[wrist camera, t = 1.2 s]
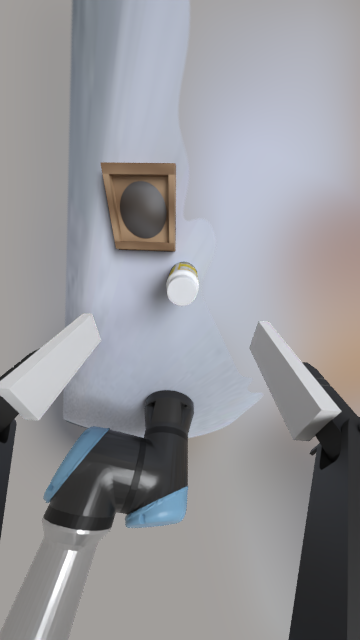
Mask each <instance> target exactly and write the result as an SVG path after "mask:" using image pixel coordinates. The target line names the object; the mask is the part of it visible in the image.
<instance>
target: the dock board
mask: <svg viewBox="0 0 360 640" xmlns="http://www.w3.org/2000/svg"><path fill="white" fill-rule="evenodd" d="M101 168H102V173H103V179H104V185H105V190H106V196H107V201H108V207H109V212H110V218H111V224H112V229H113V235H114V240H115V246H116V249H119V250H148V251H175V235H176V165H175V163H101Z"/></svg>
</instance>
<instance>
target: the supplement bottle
mask: <svg viewBox="0 0 360 640" xmlns="http://www.w3.org/2000/svg"><path fill="white" fill-rule="evenodd" d="M166 289H167V295H168V298H169V300H170V301H171V302H172V303H173V304H175V305H178V306H187V305H189V304H191V303H192V302H193V301H194V300H195V298H196V296H197V292H198V289H199V281H198V276H197V271H196V269H195V267H194V266H193V265H192V264H190V263H188V262H179V263H177V264H176V265H174V266H173V268H172V269H171V272H170V274H169V277H168V279H167V282H166Z"/></svg>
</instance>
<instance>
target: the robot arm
mask: <svg viewBox="0 0 360 640" xmlns="http://www.w3.org/2000/svg"><path fill="white" fill-rule="evenodd" d="M100 341H101V338H100V335H99V332H98V329H97V326H96V323H95V320H94V317H93V314H86V313H83V314H82V315H80V316H79V317H78V318H77V319H76V320H74V321H73V322H72V323H71V324H69V325H68V326H67V327H66V328H65V329H63V330H62V331H61V332H60V333H58V334H57V335H56V336H55V337H54V338H52V339H51V340H50V341H49V342H48V343H46V344H45V345H44V346H43V347H41V348H39V349H38V350H36V351H34V352H32V353H30V354H29V355H27V356H26V357H25V358H24V359H22V360H21V362H19V363H17V364H16V365H15V366H14V368H11V369H10V370H8V371H7V372H6V373H5V374H4V375H2V376H1V377H0V537H1V530H2V523H3V516H4V509H5V502H6V494H7V487H8V480H9V473H10V466H11V459H12V452H13V445H14V437H15V431H16V421H15V417H16V416H17V415H18V414H20V415H21V416H22V417H23V418H24V419H26V420H40V418H41V417H42V416H43V414H44V413H45V412H46V411H47V409H48V408H49V407H50V405H51V404H52V403H53V402H54V400H55V399H56V398H57V397H58V395H59V394H60V393H61V391H62V390H63V389H64V388H65V386H66V385H67V384H68V382H69V381H70V380H71V379H72V377H73V376H74V375H75V373H76V372H77V371H78V370H79V368H80V367H81V366H82V364H83V363H84V362H85V361H86V359H87V358H88V357H89V355H90V354H91V353H92V352H93V350H94V349H95V348H96V346H97V345H98V344H99V343H100ZM250 350H251V352H252V355H253V357H254V359H255V361H256V363H257V365H258V367H259V369H260V371H261V373H262V376H263V377H264V380H265V382H266V384H267V386H268V388H269V390H270V392H271V394H272V396H273V398H274V400H275V403H276V405H277V407H278V409H279V411H280V413H281V415H282V417H283V419H284V422H285V424H286V426H287V428H288V430H289V432H290V434H291V436H292V438H293V440H301V441H310V440H311V439H312V438H313V437H314V436H315V435H316V437H317V439H318V440H319V442H320V443H319V444H318V445H317V446H316V447H315V448H313V449H312V450H311V452H310V454H311V455H314V454H315V453H316V458H315V465H314V472H313V479H312V486H311V492H310V500H309V506H308V512H307V519H306V526H305V533H304V539H303V546H302V554H301V560H300V566H299V573H298V580H297V587H296V594H295V601H294V607H293V614H292V620H291V627H290V634H289V640H360V417H358V416H357V415H356V414H355V413H354V412H353V410H352V409H351V408H350V407H349V406H348V405H347V404H346V402H345V401H344V400H343V399H342V398H341V397H340V396H339V394H338V393H337V392H336V391H335V390H334V389H333V388H332V387H331V386H330V384H329V383H328V382H327V381H326V380H325V379H324V377H323V376H322V375H321V374H320V373H319V371H318V370H317V369H315V368H314V367H313V366H311V365H310V364H308V363H305V362H301V361H300V359H299V358H298V357H297V356H296V355H295V353H294V352H293V351H292V350H291V348H290V347H289V346H288V345H287V343H285V341H284V340H283V338H282V337H281V336H280V335H279V334H278V332H277V331H276V330H275V329H274V327H273V326H272V325H271V324H270V322H266V321H264V322H263V321H259V322H258V325H257V327H256V331H255V333H254V337H253V339H252V342H251V345H250ZM193 414H194V405H193V402H192V400H191V399H190V398H189V397H187V396H186V395H184V394H182V393H179V392H175V391H159V392H155V393H153V394H151V395H150V396H149V397H148V398H147V400H146V404H145V427H146V430H145V435H144V438H141V437H137V436H134V435H130V434H126V433H122V432H118V431H114V430H110V428H107V429H106V428H101V427H95V426H93V427H90V428H88V429H86V430H85V431H84V432H83V433H82V434H81V436H80V437H79V438H78V440H77V441H76V442H75V444H74V445H73V447H72V448H71V450H70V451H69V453H68V454H67V456H66V457H65V459H64V460H63V462H62V464H61V465H60V467H59V468H58V470H57V472H56V473H55V475H54V477H53V479H52V481H51V483H50V485H49V486H48V488H47V490H46V492H45V494H44V500H45V501H46V503H49V502H50V504H49V506H48V508H47V510H46V512H45V514H44V517H43V519H42V523H43V530H44V538H43V540H42V543H41V545H40V547H39V549H38V551H37V553H36V556H35V558H34V560H33V562H32V564H31V566H30V569H29V571H28V573H27V575H26V577H25V580H24V582H23V584H22V586H21V588H20V590H19V592H18V594H17V597H16V599H15V601H14V603H13V605H12V607H11V610H10V612H9V614H8V616H7V619H6V621H5V623H4V625H3V627H2V629H1V632H0V640H68V638H69V634H70V631H71V628H72V625H73V621H74V618H75V615H76V611H77V608H78V605H79V602H80V599H81V595H82V592H83V589H84V586H85V582H86V579H87V576H88V573H89V569H90V566H91V563H92V559H93V556H94V553H95V550H96V547H97V545H98V543H99V541H100V540H101V539H102V538H103V537H104V536H105V535H106V534H107V533H108V532H109V531H110V530H111V527H112V523H113V520H114V516H115V514H116V512H118V513H125V514H127V516H126V517H125V521H126V524H125V525H126V527H128V528H130V527H131V528H142V527H154V526H163V525H169V524H175V523H178V522H180V521H182V519H183V518H184V516H185V513H186V507H187V490H188V466H187V465H188V432H189V428H190V425H191V422H192V418H193Z"/></svg>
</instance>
